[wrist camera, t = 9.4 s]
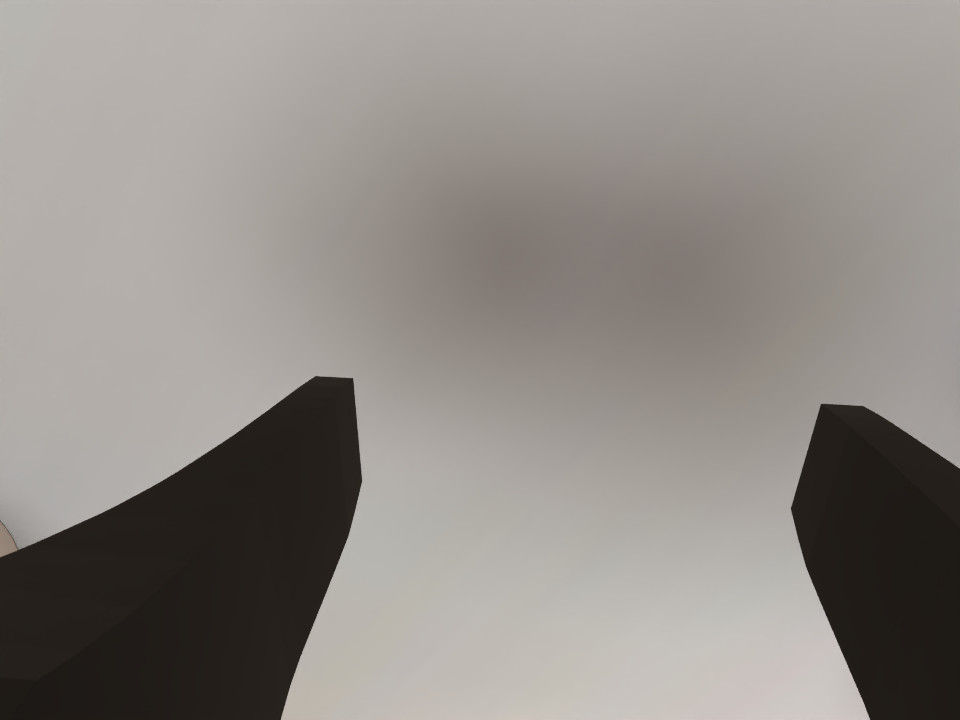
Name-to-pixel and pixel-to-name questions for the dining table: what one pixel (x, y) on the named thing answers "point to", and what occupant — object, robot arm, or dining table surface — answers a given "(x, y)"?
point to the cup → (6, 542)
